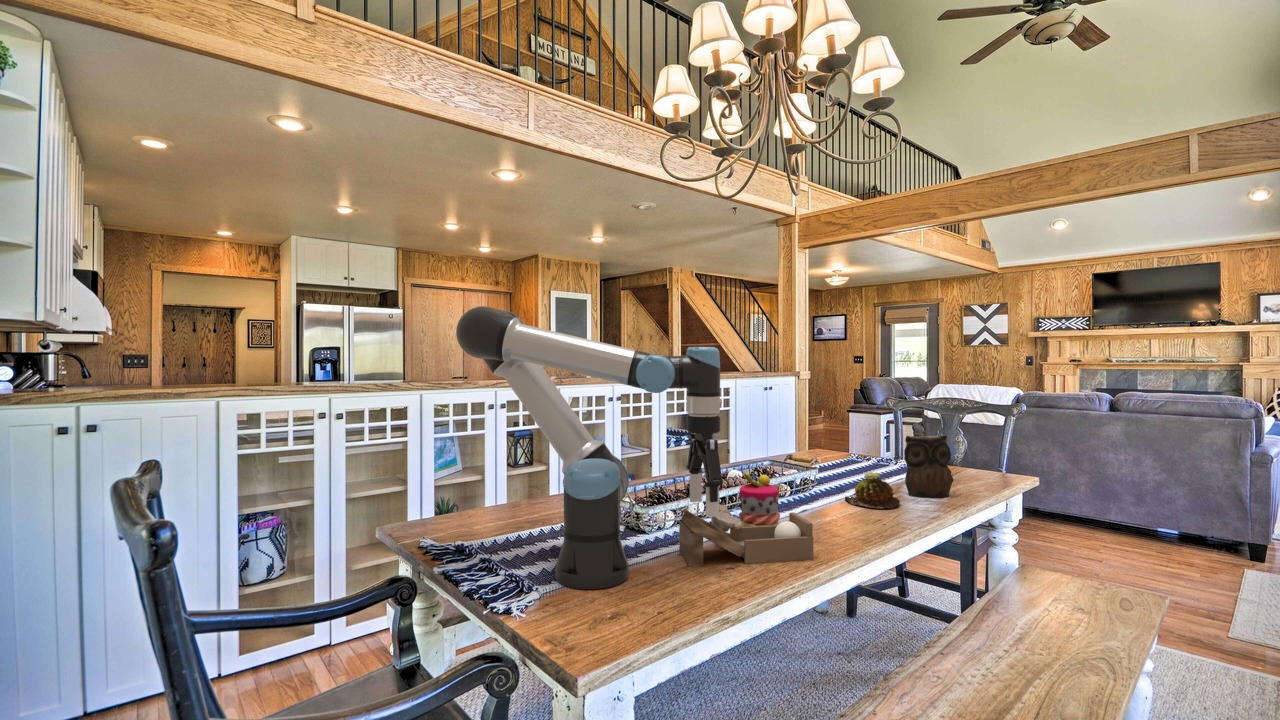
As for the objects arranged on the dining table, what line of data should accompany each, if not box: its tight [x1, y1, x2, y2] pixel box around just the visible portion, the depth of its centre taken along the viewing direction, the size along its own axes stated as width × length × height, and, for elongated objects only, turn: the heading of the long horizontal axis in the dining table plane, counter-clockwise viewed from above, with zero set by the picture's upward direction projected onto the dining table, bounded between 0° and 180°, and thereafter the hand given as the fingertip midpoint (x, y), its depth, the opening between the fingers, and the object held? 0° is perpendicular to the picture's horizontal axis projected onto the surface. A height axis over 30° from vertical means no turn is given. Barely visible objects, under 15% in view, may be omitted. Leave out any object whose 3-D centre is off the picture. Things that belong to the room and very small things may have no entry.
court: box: [729, 512, 814, 565], centre depth 138 cm, size 16×11×8 cm, turn 100°
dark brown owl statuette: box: [903, 434, 954, 499], centre depth 198 cm, size 13×13×20 cm
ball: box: [774, 520, 801, 538], centre depth 138 cm, size 6×6×6 cm
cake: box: [738, 471, 781, 527], centre depth 159 cm, size 10×11×15 cm
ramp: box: [678, 509, 745, 567], centre depth 136 cm, size 13×10×10 cm
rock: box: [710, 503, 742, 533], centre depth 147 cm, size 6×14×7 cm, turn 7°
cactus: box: [844, 471, 901, 510], centre depth 187 cm, size 17×16×10 cm
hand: (703, 508), depth 136 cm, fingers open, 13 cm apart
